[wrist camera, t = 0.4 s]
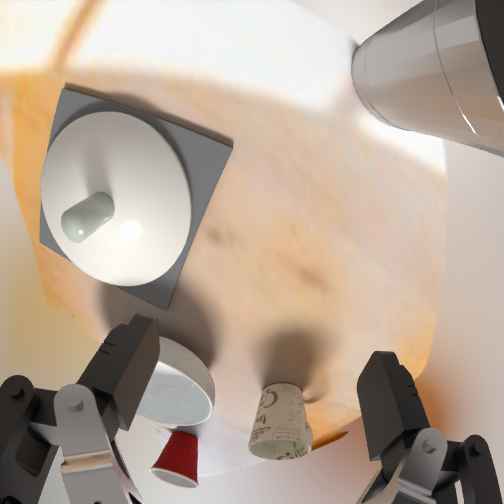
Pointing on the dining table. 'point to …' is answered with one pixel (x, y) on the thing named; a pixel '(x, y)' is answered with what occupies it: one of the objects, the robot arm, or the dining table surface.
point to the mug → (281, 424)
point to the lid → (116, 198)
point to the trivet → (192, 158)
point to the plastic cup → (178, 461)
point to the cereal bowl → (178, 388)
